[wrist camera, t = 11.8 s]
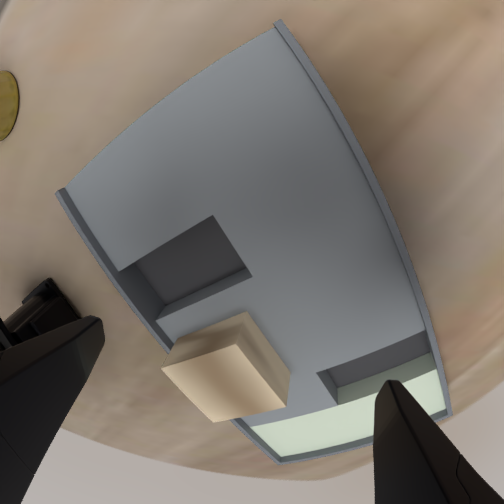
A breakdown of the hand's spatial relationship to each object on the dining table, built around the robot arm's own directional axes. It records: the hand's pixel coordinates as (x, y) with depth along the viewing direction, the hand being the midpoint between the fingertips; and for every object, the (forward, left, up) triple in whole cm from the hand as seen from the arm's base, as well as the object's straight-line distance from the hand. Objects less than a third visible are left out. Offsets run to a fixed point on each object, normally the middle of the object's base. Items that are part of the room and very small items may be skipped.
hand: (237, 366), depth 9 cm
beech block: (-6, -6, -9) cm, 12 cm away
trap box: (-2, -4, -11) cm, 12 cm away
